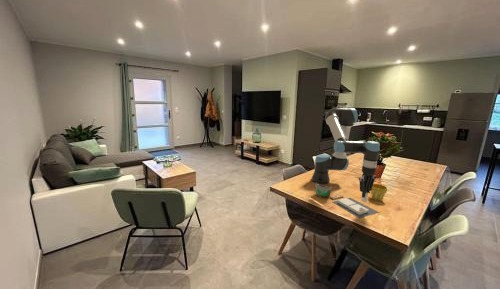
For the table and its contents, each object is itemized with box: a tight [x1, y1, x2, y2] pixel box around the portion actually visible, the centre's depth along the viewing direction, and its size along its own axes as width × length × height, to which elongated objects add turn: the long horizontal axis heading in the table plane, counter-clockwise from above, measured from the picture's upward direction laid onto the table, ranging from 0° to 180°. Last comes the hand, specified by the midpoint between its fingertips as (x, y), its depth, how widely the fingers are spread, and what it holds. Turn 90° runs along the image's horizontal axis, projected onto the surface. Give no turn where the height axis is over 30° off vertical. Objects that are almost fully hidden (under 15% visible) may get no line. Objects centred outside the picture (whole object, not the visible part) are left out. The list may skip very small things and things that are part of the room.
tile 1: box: [337, 197, 356, 208], centre depth 140 cm, size 8×2×8 cm
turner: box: [329, 194, 345, 201], centre depth 151 cm, size 18×6×2 cm, turn 114°
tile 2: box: [349, 204, 369, 215], centre depth 132 cm, size 8×2×8 cm
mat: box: [331, 197, 380, 219], centre depth 137 cm, size 22×18×1 cm
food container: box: [314, 182, 333, 199], centre depth 150 cm, size 12×6×10 cm, turn 45°
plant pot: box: [370, 183, 388, 202], centre depth 151 cm, size 10×10×10 cm
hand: (363, 201), depth 133 cm, fingers closed
